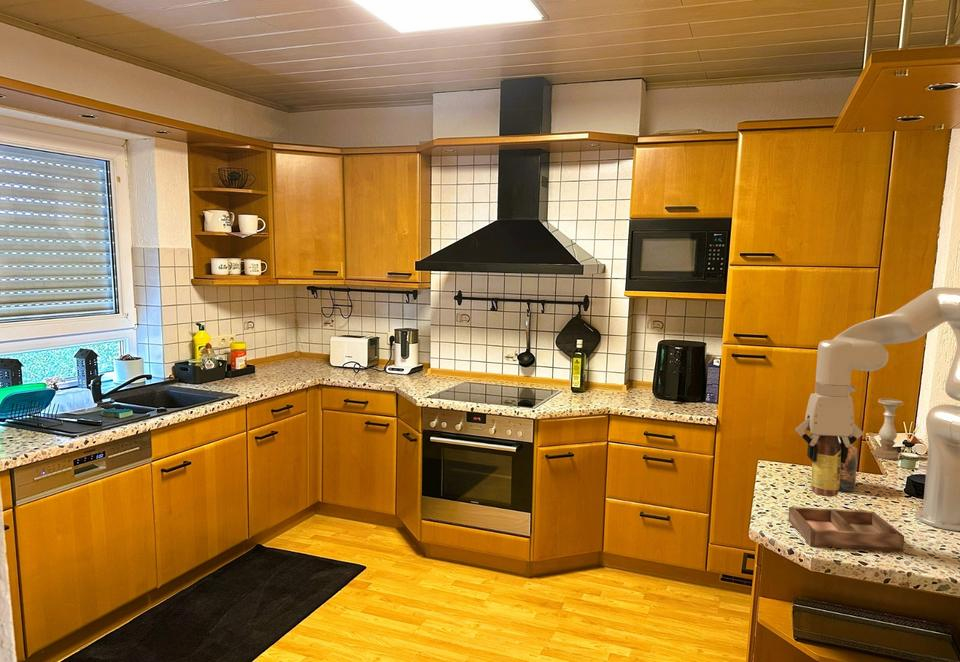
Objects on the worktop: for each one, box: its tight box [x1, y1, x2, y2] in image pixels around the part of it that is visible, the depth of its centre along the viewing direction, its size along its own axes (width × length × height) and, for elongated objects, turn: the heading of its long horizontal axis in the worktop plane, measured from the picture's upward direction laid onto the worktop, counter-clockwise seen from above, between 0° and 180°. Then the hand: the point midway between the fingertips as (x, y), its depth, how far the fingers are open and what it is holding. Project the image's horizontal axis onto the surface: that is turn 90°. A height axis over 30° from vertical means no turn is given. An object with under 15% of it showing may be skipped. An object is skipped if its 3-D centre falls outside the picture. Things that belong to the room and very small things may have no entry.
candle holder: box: [871, 398, 904, 460], centre depth 225 cm, size 9×9×20 cm
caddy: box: [787, 506, 905, 553], centre depth 159 cm, size 21×15×4 cm
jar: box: [838, 437, 858, 493], centre depth 195 cm, size 12×12×15 cm
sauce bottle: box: [810, 436, 841, 498], centre depth 158 cm, size 7×6×20 cm
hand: (826, 460), depth 158 cm, fingers closed on sauce bottle, 6 cm apart
